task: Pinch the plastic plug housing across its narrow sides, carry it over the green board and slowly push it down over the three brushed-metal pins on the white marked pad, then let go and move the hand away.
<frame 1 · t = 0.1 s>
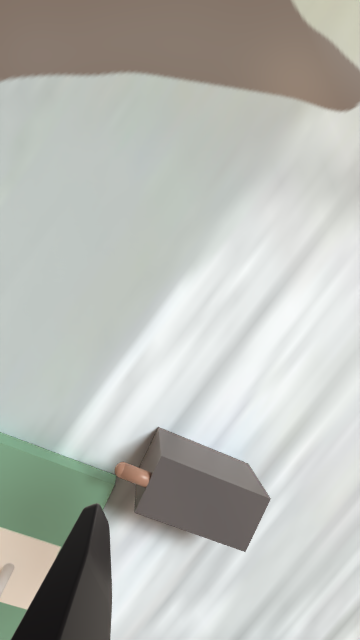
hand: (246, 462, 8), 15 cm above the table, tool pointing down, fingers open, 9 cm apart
plug housing: (193, 468, 24), on the table
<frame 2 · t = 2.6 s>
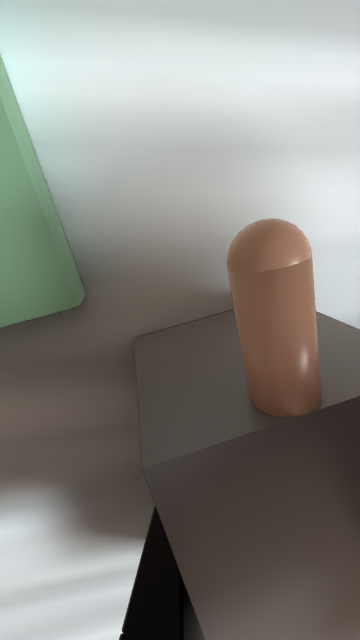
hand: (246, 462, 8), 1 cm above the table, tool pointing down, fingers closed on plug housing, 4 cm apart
plug housing: (234, 438, 9), on the table, touching gripper
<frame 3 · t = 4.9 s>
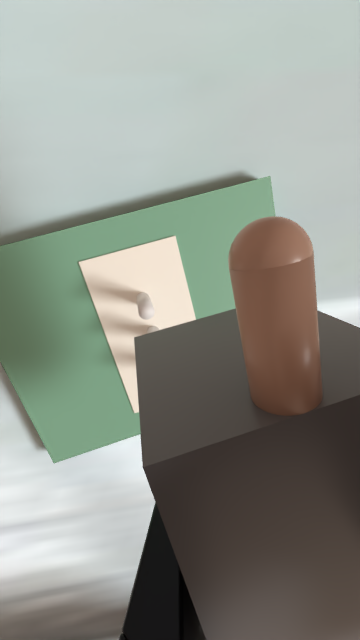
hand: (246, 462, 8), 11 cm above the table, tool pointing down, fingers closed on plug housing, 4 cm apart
pin board: (151, 325, 18), on the table
plug housing: (234, 438, 9), point 10 cm above the table, touching gripper
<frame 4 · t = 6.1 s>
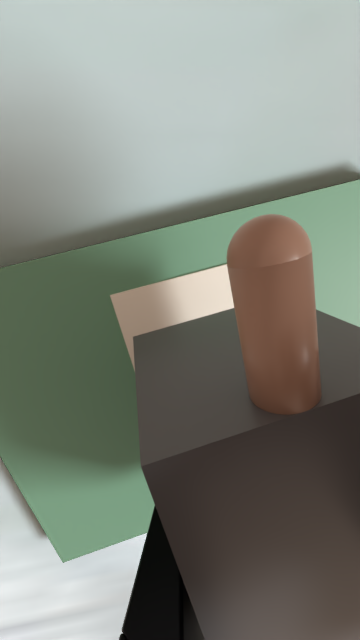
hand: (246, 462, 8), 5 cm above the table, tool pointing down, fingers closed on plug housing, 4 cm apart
pin board: (202, 376, 13), on the table
plug housing: (234, 437, 9), point 4 cm above the table, touching gripper
when the fingers open (3 cm above the table, at t = 7.1 s): plug housing stays where it is, resting on pin board.
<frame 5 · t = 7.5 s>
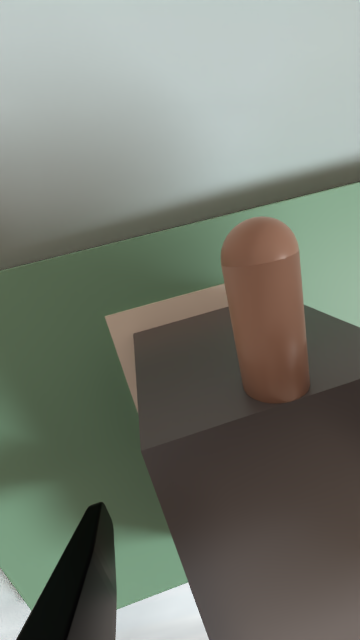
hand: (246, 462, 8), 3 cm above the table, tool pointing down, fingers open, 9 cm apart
pin board: (219, 410, 11), on the table
plug housing: (231, 432, 10), point 1 cm above the table, touching pin board
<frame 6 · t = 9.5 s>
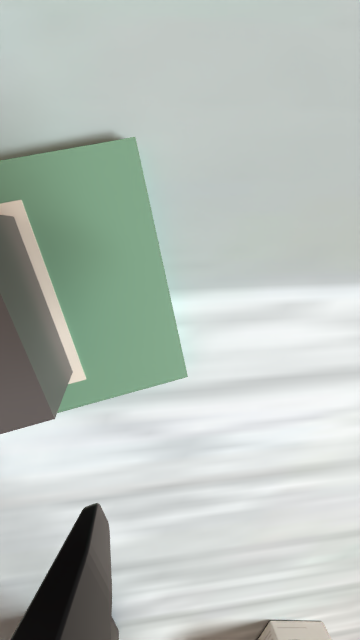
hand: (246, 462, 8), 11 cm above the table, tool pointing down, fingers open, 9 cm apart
small box: (285, 632, 33), on the table
pin board: (14, 305, 16), on the table
plug housing: (5, 311, 15), point 1 cm above the table, touching pin board
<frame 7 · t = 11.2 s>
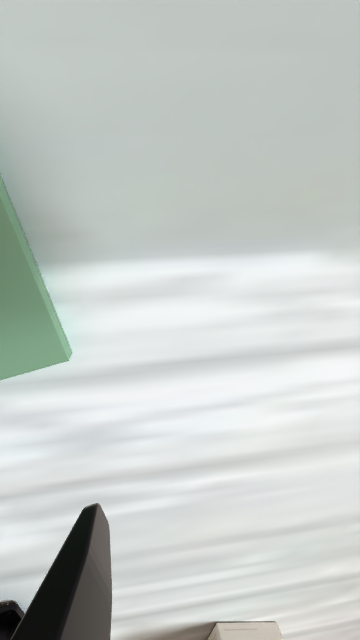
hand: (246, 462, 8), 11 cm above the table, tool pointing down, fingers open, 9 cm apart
small box: (237, 634, 31), on the table
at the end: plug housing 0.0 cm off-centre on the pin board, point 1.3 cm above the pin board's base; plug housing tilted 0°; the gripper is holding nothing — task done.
